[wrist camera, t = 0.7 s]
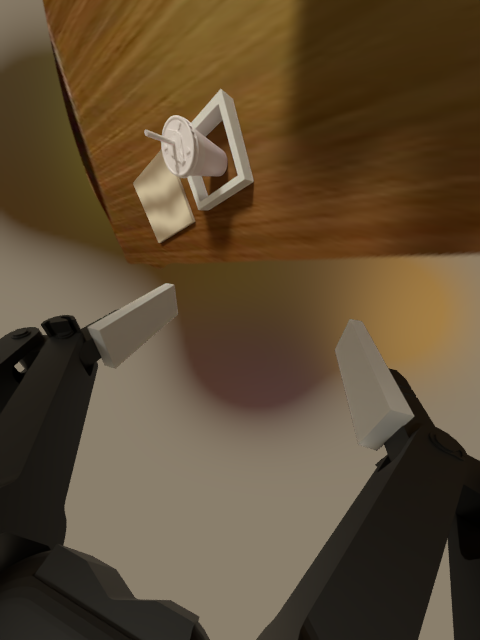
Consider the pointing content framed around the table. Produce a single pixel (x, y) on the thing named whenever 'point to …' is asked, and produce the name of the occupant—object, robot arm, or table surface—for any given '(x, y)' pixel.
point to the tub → (206, 122)
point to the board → (163, 199)
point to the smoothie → (189, 150)
